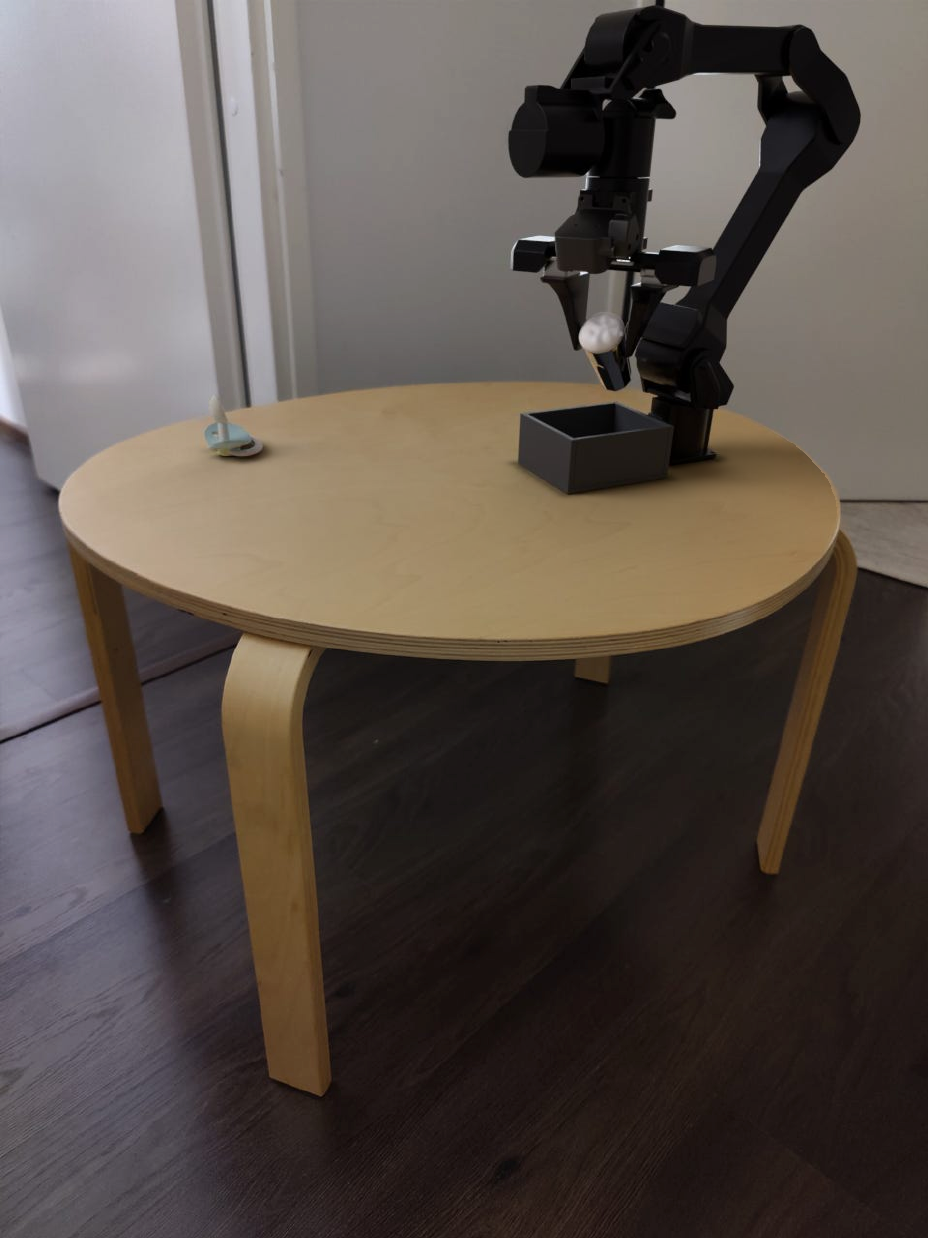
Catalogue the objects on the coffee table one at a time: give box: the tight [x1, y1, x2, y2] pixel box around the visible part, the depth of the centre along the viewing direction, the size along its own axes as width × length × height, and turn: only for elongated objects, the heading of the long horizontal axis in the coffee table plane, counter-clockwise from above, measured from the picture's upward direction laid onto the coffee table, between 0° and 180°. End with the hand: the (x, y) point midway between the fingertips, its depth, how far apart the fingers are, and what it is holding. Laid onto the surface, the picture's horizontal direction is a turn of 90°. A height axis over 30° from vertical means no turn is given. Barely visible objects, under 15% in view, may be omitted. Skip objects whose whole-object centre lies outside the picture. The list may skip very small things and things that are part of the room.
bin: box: [517, 401, 674, 495], centre depth 90 cm, size 12×10×6 cm
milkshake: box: [579, 311, 632, 392], centre depth 87 cm, size 4×5×10 cm
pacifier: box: [203, 394, 263, 457], centre depth 94 cm, size 7×6×6 cm
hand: (602, 353), depth 86 cm, fingers closed on milkshake, 5 cm apart
